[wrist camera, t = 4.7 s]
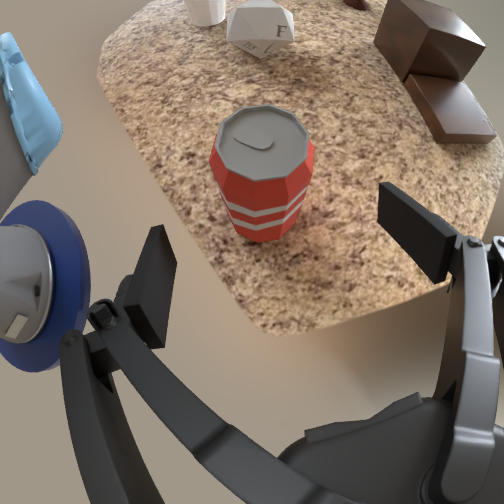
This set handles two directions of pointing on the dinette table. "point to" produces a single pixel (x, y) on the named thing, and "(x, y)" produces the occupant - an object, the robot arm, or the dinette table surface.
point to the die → (260, 27)
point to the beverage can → (262, 169)
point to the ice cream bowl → (358, 4)
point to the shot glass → (205, 12)
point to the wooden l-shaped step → (435, 67)
